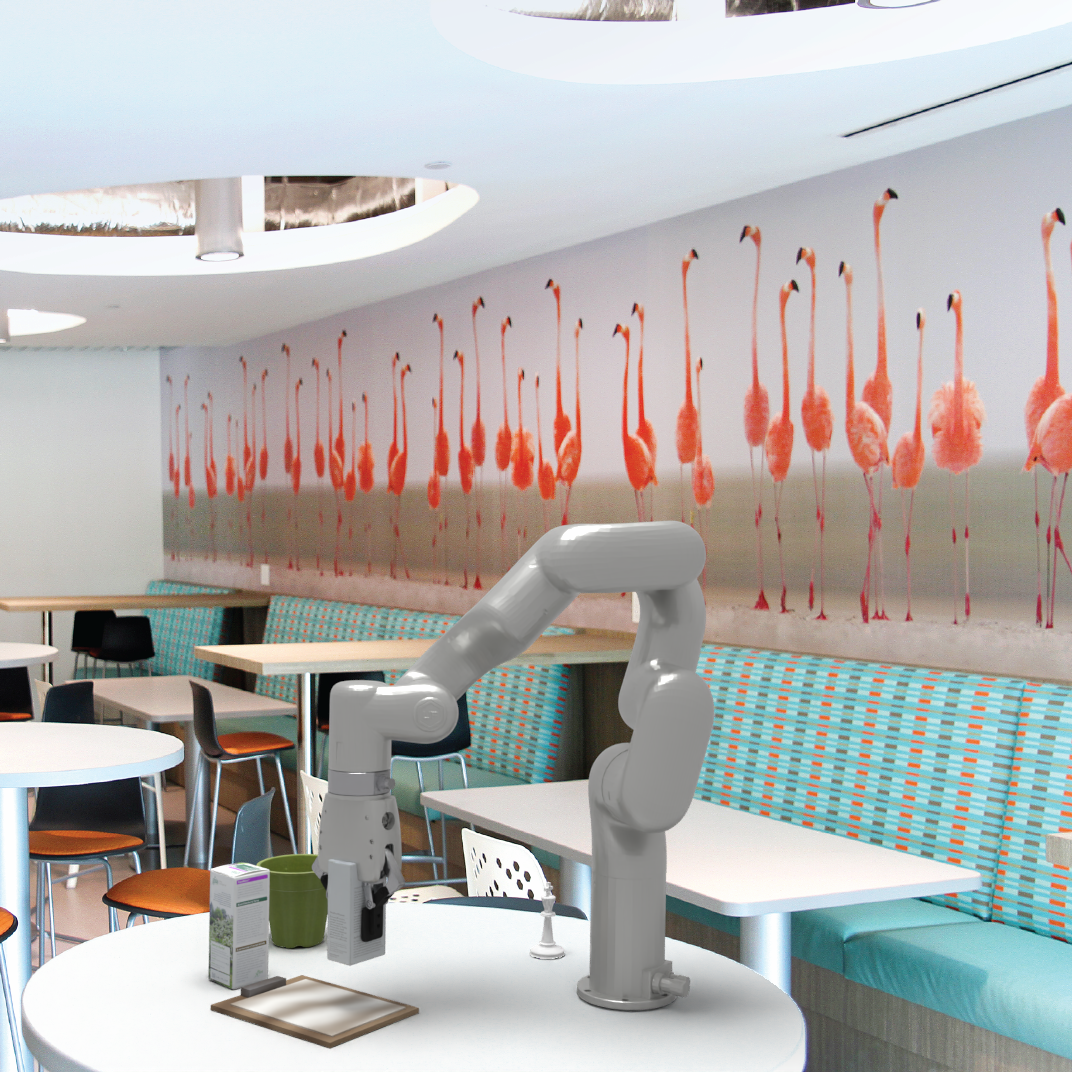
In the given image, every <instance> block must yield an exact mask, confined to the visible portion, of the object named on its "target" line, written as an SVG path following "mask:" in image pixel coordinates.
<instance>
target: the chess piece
mask: <svg viewBox="0 0 1072 1072" xmlns="http://www.w3.org/2000/svg"><path fill="white" fill-rule="evenodd" d="M552 890H554V886H553V885H552V882H549V881H547V882H546V886H545V887H543V891H544V892H545V894H543V895H541V897H540V898H541V902H542V905H543V908H544V910H543V911H541V912H540V916H542V917H543V918H544V920H543V928H542V935H541V936H542V937H541V941H539V943H538V944H535V945H533V946H531V947H530V948H529V950H530V951H529V956H530V955H532V956H534V957H538V958H540V959H539V960H544V959H552V958H556V957H561V956H563V955H564V954H566V953H565V949H564V947H563V946H560V945H558V944H557V943H556V941H554V933H553V925H552V920H553V919H552V918H553V917H556V915H557V914H556V912H555V911H553V907H554V904H555V901H556V896H555V895H554V894H551V892H552ZM532 956H531V957H532ZM534 957H533V958H534Z"/></svg>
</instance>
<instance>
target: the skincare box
mask: <svg viewBox="0 0 1072 1072" xmlns="http://www.w3.org/2000/svg"><path fill="white" fill-rule="evenodd" d="M384 873H385V872H384ZM385 880H386V881H387V877H385ZM373 886H374V893H376V892H377V889H376V885H373ZM365 907H366V903H365V897H364V890H363V883H362V882H361V881H359V880H358V877H357V866H356V863H352V862H346V861H341V860H335V859H331V860H328V915H327V926H326V927H327V930H326V931H327V936H326V937H327V938H326V940H327V941H326V946H327V947H326V950H327V951H326V958H327V960H328V961H331V962H335V963H338V964H342V965H344V966H349V967H351V966H353V965H357V964H360V963H363V962H366V961H369V960H372V959H376V958H379V957H382V956H384V955H386V939H387V937H386V932H387V931H386V930H387V929H386V927H387V926H386V924H387V923H386V922H387V920H386V919H387V917H386V915H387V909H386V908H387V904H386V905H383V935H382V937H381V938H378V939H375V940H372V941H369V942H363V941H362V940H361V914H362V908H365Z"/></svg>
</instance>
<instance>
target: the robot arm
mask: <svg viewBox="0 0 1072 1072" xmlns="http://www.w3.org/2000/svg"><path fill="white" fill-rule="evenodd" d="M706 560H707V549H706V545H705V542H704V540H703V537H702V536H701V535H700V533H699V532H698V531H697V530H696V529H695V528H693V527H692V526H691V525H689V524H687V523H685V522H681V521H678V520H655V521H639V522H622V523H618V522H617V523H616V522H615V523H574V524H564V525H559V526H556V527H554V528H552V529H550V530H548V531H547V532H546V533H545V534H543V535H542V536H541V537H539V539H538V540H537V541H536V542H535V543H534V544H533V545H532V546H531V547H530V548H529V549H528V550H527V551H526V552H525V553H524V554H523V555H522V556H521V558H519V559H518V561H517V562H516V563H515V564H514V565H513V566H512V567H510V569H509V570H508V571H507V572H506V573H505V574H504V575H503V576H502V578H500V580H498V581H497V583H496V584H494V586H492V588H491V589H490V590H489V591H488V592H487V593H486V594H485V595H484V596H483V597H482V598H481V599H480V600H479V601H478V602H476V604H474V605H473V607H471V608H470V609H469V610H468V611H467V612H466V613H465V614H463V616H462V617H461V618H460V619H459V620H458V621H456V623H455V624H453V626H451V627H450V628H449V629H448V630H447V631H445V633H443V634H442V635H441V636H440V637H439V638H438V639H437V640H436V641H435V642H434V643H432V644H431V645H430V647H428V649H427V650H425V651H424V653H422V654H421V656H420V657H418V659H417V660H416V661H415V662H414V663H413V664H412V665H411V666H409V668H408V669H407V671H405V673H403V675H401V676H400V678H399V679H398V680H397V681H396V682H395V683H394V684H392V685H389V684H387V683H386V682H383V681H379V680H370V679H369V680H365V679H359V680H358V679H355V680H354V679H353V680H352V679H351V680H344V681H339V682H337V683H335V684H334V685H333V686H332V688H331V690H330V692H329V721H328V723H329V725H328V726H329V728H328V729H329V730H328V766H327V767H328V770H327V792H325V793H324V798H323V802H322V803H323V804H322V809H321V814H320V821H319V830H318V832H319V833H318V846H317V849H318V851H317V855H318V856H317V858H316V860H315V861H314V863H313V865H312V870H313V871H314V873H315V874H316V875H317V876H318V878H319V879H321V883H322V885H323V886H324V888H325V890H326V897H327V899H328V860H331V859H335V860H341V861H346V862H352V863H356V866H357V877H358V880H359V881H361V882H362V883H363V890H364V897H365V903H366V907H365V908H362V914H361V940H362V941H363V942H369V941H372V940H375V939H378V938H381V937H382V935H383V905H386V906H387V904H389V900H390V899H391V897H393V896H394V894H395V893H397V892H398V891H400V890H401V889H403V887H404V886H405V885H406V880H405V878H404V876H403V874H402V867H403V866H402V862H403V857H402V856H403V855H402V834H401V831H402V830H401V820H400V815H399V808H398V803H397V799H396V795H392V794H391V790H393V789H395V786H396V780H395V779H394V778H391V777H392V776H391V775H392V773H391V772H392V770H391V769H392V766H391V765H392V741H399V742H405V743H414V744H426V745H427V744H428V745H429V744H434V743H438V742H440V741H443V739H445V738H448V736H450V734H451V733H452V732H453V731H454V729H455V728H456V726H457V723H458V721H459V715H460V714H459V707H458V706H459V705H458V702H457V701H458V700H459V699H460V698H462V696H463V695H464V694H465V693H466V692H467V691H469V689H470V688H471V687H472V686H473V685H474V684H475V683H476V682H477V681H479V680H480V679H481V678H483V677H484V676H485V675H486V674H488V673H489V672H491V671H492V670H493V669H495V668H497V667H498V666H500V665H502V664H505V663H507V662H509V661H512V660H513V659H515V658H517V657H519V656H520V655H522V654H523V653H524V652H526V651H528V650H529V648H530V647H532V646H533V644H534V643H535V642H536V641H537V640H538V639H539V638H540V636H542V635H543V633H544V632H546V630H547V629H548V628H549V627H550V626H551V625H552V624H553V622H554V621H556V619H558V617H559V616H560V615H561V614H562V613H563V612H564V611H565V610H566V609H567V608H568V607H569V606H570V605H571V604H572V603H573V602H574V600H575V599H577V597H579V595H580V594H615V593H617V594H618V593H620V594H621V593H636V596H637V599H638V604H639V621H638V626H637V629H636V634H635V635H636V636H635V639H634V643H633V647H632V650H631V653H630V658H629V661H628V664H627V667H626V671H625V674H624V677H623V680H622V684H621V687H620V691H619V693H618V702H617V703H618V704H617V705H618V706H617V707H618V711H619V714H620V716H621V719H622V720H623V722H624V723H625V724H626V725H627V726H628V727H629V728H630V729H631V730H633V732H632V735H631V738H630V741H629V742H621V743H615V744H614V745H613V744H612V745H611V746H609V747H607V748H605V749H604V750H602V752H601V753H600V754H599V755H598V756H597V758H596V759H595V760H594V762H593V763H592V765H591V768H590V772H589V775H588V776H589V777H588V785H587V787H588V789H587V793H588V806H589V808H588V809H589V815H590V816H589V817H590V827H591V828H590V829H591V830H590V831H591V870H590V871H591V875H590V876H591V879H590V921H589V922H590V925H589V926H590V928H589V929H590V930H589V931H590V934H589V974H588V975H586V976H584V977H581V978H580V979H579V980H578V981H577V983H576V994H577V996H578V997H579V998H580V999H581V1000H583V1001H585V1002H586V1003H588V1004H591V1005H594V1006H598V1007H601V1008H606V1009H613V1010H619V1011H623V1010H624V1011H644V1010H645V1011H647V1010H654V1009H658V1008H662V1007H665V1006H668V1005H670V1004H672V1003H673V1002H674V1001H675V1000H676V998H677V997H681V998H687V997H688V996H689V993H690V990H691V989H690V987H691V986H690V984H691V978H690V977H689V976H687V975H682V974H675V972H674V971H673V961H672V960H669V959H665V958H666V915H667V914H666V912H667V911H666V905H667V903H666V902H667V898H666V895H667V864H668V862H667V861H668V860H667V859H668V857H667V855H668V854H667V837H666V832H667V831H670V830H671V829H673V828H674V827H676V826H677V825H678V824H679V823H680V822H681V821H682V820H683V818H684V817H685V816H686V814H687V813H688V810H689V809H690V806H691V805H692V802H693V799H694V796H695V793H696V790H697V786H698V782H699V778H700V775H701V771H702V767H703V766H704V765H703V764H704V761H705V756H706V754H707V750H708V746H709V743H710V739H711V735H712V731H713V725H714V721H715V720H714V719H715V703H714V697H713V694H712V691H711V689H710V687H709V685H708V683H707V682H706V681H705V679H704V678H702V676H701V675H699V673H697V672H696V671H697V669H698V664H699V659H700V656H701V651H702V646H703V641H704V638H705V631H706V625H707V610H706V607H707V606H706V601H705V597H704V594H703V591H702V588H701V585H700V582H699V580H698V577H700V575H701V573H702V572H703V570H704V568H705V565H706ZM384 872H385V873H384ZM385 877H386V880H385ZM373 885H376V889H377V892H376V893H374V886H373Z"/></svg>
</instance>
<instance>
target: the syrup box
mask: <svg viewBox="0 0 1072 1072" xmlns="http://www.w3.org/2000/svg"><path fill="white" fill-rule="evenodd" d="M209 876H210V877H209V919H208V920H209V925H208V928H209V929H208V935H209V936H208V981H210V982H211V981H212V982H214V983H216V984H219V985H221V986H224V987H225V988H229V989H231V990H236V989H237V990H238V989H241V987H244V986H247V985H250V984H253V983H256V982H260V981H263V980H266V979H269V954H270V953H269V945H270V943H269V941H270V940H269V938H270V933H269V932H270V923H269V890H270V870H269V869H266V868H262V867H259V866H256V865H255V864H252V863H249V862H235V863H230V864H229V863H228V864H224V865H220V866H216V867H214V868H212V867H211V868H210V873H209Z"/></svg>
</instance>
